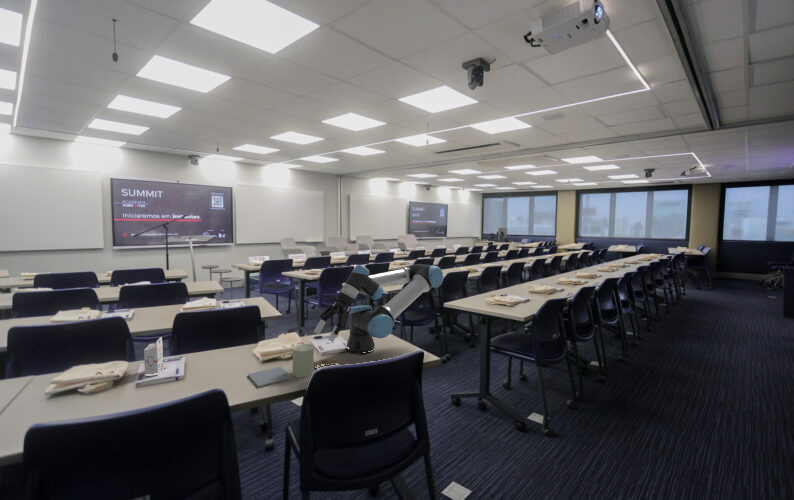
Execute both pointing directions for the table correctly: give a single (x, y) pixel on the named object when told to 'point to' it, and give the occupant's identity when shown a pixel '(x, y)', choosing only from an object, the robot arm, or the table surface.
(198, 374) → the table surface
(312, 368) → the can
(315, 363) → the walnut coaster
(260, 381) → the grey mat
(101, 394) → the table surface
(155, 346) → the ink cartridge box
